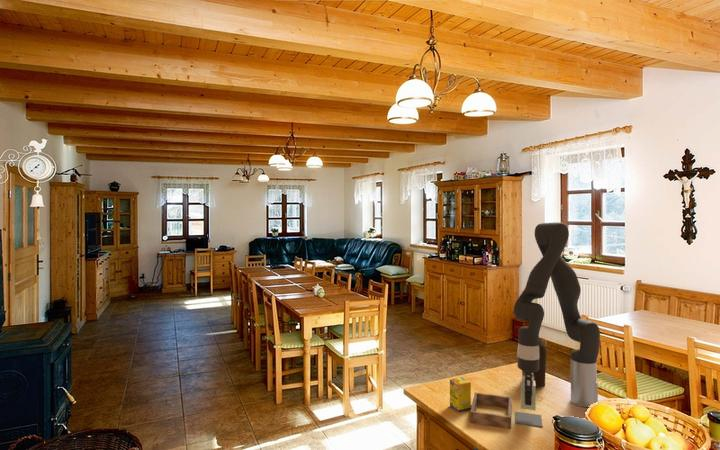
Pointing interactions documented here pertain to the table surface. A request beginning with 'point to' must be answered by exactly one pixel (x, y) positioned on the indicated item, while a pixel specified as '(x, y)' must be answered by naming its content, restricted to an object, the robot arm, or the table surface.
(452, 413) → the table surface
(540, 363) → the olive oil
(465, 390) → the supplement box
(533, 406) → the block
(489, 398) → the frame
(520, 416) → the mat
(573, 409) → the table surface
